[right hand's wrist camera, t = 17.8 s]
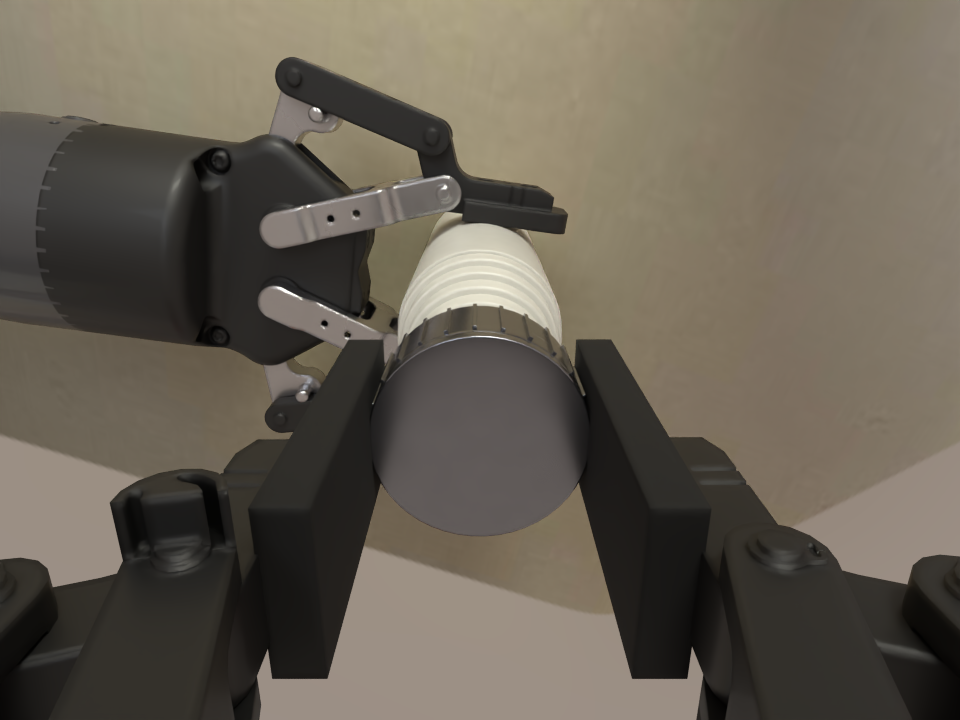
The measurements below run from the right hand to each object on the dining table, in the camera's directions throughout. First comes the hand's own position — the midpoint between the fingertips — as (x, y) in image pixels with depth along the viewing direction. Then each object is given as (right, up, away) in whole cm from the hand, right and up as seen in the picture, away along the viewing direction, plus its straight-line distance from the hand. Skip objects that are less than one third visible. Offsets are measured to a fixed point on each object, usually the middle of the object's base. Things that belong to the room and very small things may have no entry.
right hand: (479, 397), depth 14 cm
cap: (0, -1, -2) cm, 2 cm away
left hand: (+3, +3, +10) cm, 11 cm away
